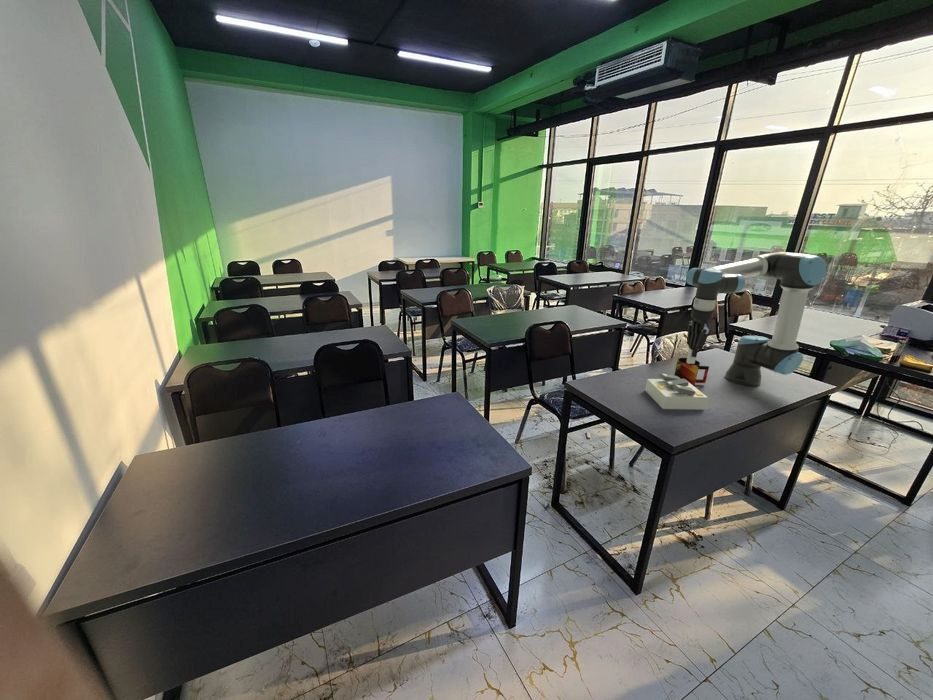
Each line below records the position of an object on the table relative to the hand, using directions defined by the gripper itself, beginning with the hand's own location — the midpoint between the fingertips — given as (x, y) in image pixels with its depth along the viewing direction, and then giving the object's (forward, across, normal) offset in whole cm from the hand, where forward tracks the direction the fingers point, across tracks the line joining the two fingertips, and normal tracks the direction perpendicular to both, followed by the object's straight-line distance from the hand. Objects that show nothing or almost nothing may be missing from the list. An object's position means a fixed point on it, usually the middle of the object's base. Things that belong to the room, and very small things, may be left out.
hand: (690, 362), depth 167 cm
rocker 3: (+12, 0, 0) cm, 12 cm away
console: (+20, -6, 0) cm, 21 cm away
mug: (+21, -24, +16) cm, 35 cm away
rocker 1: (+12, -12, 0) cm, 17 cm away
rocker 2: (+12, -6, 0) cm, 14 cm away
